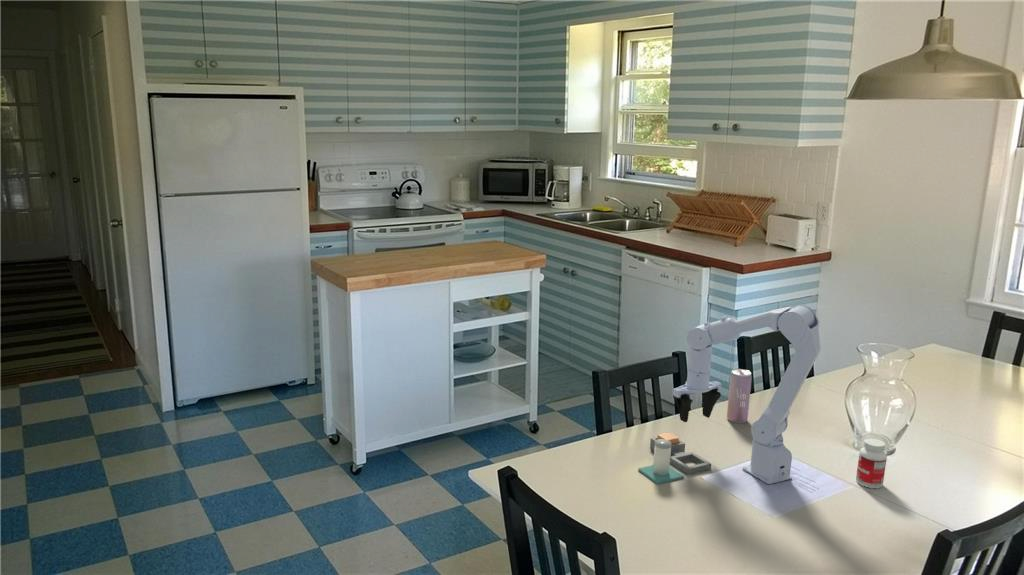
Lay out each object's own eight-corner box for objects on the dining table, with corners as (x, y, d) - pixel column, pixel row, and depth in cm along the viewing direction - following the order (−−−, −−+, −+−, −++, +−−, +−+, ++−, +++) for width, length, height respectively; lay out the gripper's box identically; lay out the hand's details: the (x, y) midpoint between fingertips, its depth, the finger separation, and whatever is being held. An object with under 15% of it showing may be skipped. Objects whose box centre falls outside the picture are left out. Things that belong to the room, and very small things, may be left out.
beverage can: (745, 416, 233) (749, 369, 230) (749, 424, 227) (753, 375, 224) (725, 415, 233) (729, 368, 230) (728, 423, 228) (732, 374, 224)
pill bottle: (850, 478, 195) (856, 437, 192) (873, 477, 195) (879, 436, 193) (864, 489, 189) (869, 447, 186) (887, 489, 189) (893, 447, 187)
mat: (683, 478, 192) (683, 475, 192) (657, 484, 189) (657, 481, 189) (663, 464, 199) (664, 462, 199) (638, 470, 196) (638, 468, 196)
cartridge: (672, 473, 193) (674, 444, 191) (659, 476, 191) (661, 446, 190) (662, 467, 197) (664, 438, 195) (649, 470, 195) (651, 440, 193)
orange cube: (677, 451, 207) (678, 437, 206) (665, 454, 205) (666, 440, 204) (668, 446, 210) (669, 432, 209) (656, 448, 208) (657, 434, 208)
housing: (710, 469, 198) (711, 458, 197) (687, 474, 194) (688, 463, 194) (670, 444, 212) (671, 433, 211) (648, 448, 209) (649, 438, 208)
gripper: (710, 362, 209) (706, 409, 212) (667, 368, 203) (663, 417, 206) (728, 370, 203) (723, 418, 206) (684, 377, 197) (680, 427, 200)
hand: (695, 418), depth 206 cm, fingers open, 7 cm apart
